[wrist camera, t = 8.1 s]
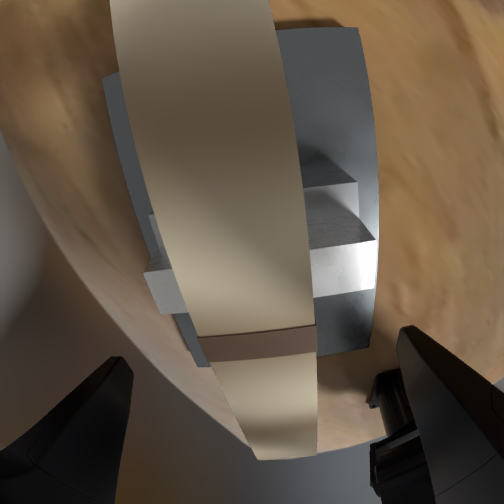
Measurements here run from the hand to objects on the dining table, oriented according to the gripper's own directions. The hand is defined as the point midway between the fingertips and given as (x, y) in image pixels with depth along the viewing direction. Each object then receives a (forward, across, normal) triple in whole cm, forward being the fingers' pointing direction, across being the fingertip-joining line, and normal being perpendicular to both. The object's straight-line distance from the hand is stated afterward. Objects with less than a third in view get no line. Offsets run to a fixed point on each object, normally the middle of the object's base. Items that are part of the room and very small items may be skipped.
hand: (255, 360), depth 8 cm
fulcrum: (+10, 0, 0) cm, 10 cm away
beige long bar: (+4, 0, 0) cm, 4 cm away
